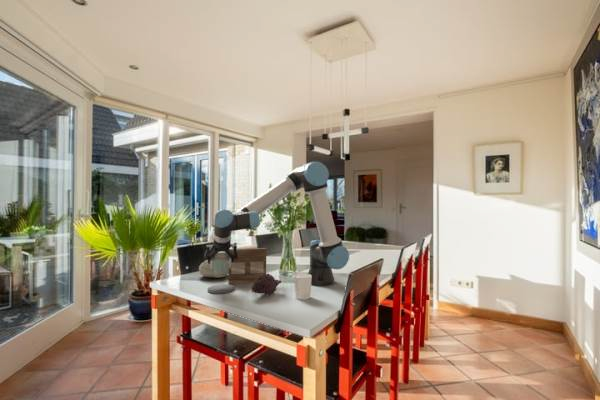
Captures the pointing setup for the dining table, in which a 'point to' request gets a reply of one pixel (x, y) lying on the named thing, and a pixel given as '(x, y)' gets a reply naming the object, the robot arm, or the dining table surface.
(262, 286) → the pine cone
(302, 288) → the white cup
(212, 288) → the rubber mat
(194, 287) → the dining table surface
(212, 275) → the beige rounded lump
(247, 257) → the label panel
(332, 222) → the robot arm
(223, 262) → the coffee cup
